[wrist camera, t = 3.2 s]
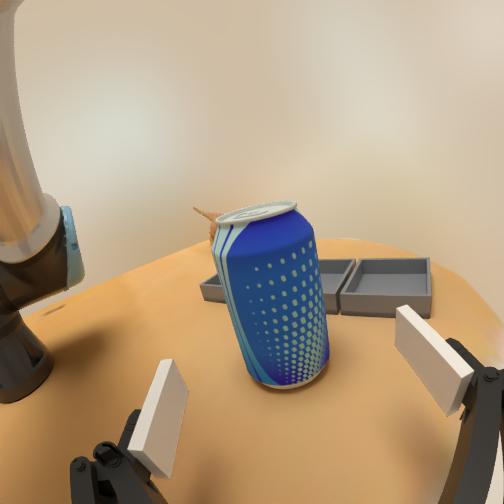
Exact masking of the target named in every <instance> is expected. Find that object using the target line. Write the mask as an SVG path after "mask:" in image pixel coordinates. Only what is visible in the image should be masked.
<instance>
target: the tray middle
mask: <svg viewBox="0 0 504 504" xmlns="http://www.w3.org/2000/svg"><path fill="white" fill-rule="evenodd" d="M318 262H319V268H320V275H321V282H322V289H323V297H324V305H325V313H326V314H338V312H339V310H340V308H341V303H340V293H341V291H342V289H343V287H344V286H345V284H346V282H347V280H348V279H349V277H350V275H351V273H352V272H353V270H354V268H355V266H356V259H318Z"/></svg>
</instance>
